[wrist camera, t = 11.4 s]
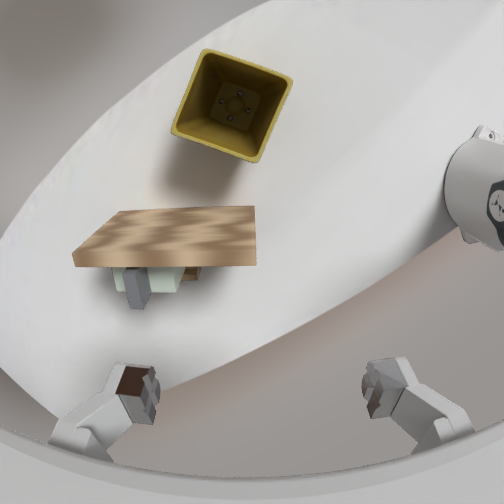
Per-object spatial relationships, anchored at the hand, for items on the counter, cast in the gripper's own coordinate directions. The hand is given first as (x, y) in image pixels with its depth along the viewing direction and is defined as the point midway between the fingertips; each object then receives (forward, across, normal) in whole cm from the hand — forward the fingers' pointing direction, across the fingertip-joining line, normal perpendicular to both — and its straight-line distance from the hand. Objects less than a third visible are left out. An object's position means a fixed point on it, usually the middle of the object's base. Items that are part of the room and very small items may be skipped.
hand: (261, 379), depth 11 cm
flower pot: (+29, +2, -10) cm, 31 cm away
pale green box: (+25, +12, +6) cm, 28 cm away
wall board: (+29, +9, +6) cm, 31 cm away
